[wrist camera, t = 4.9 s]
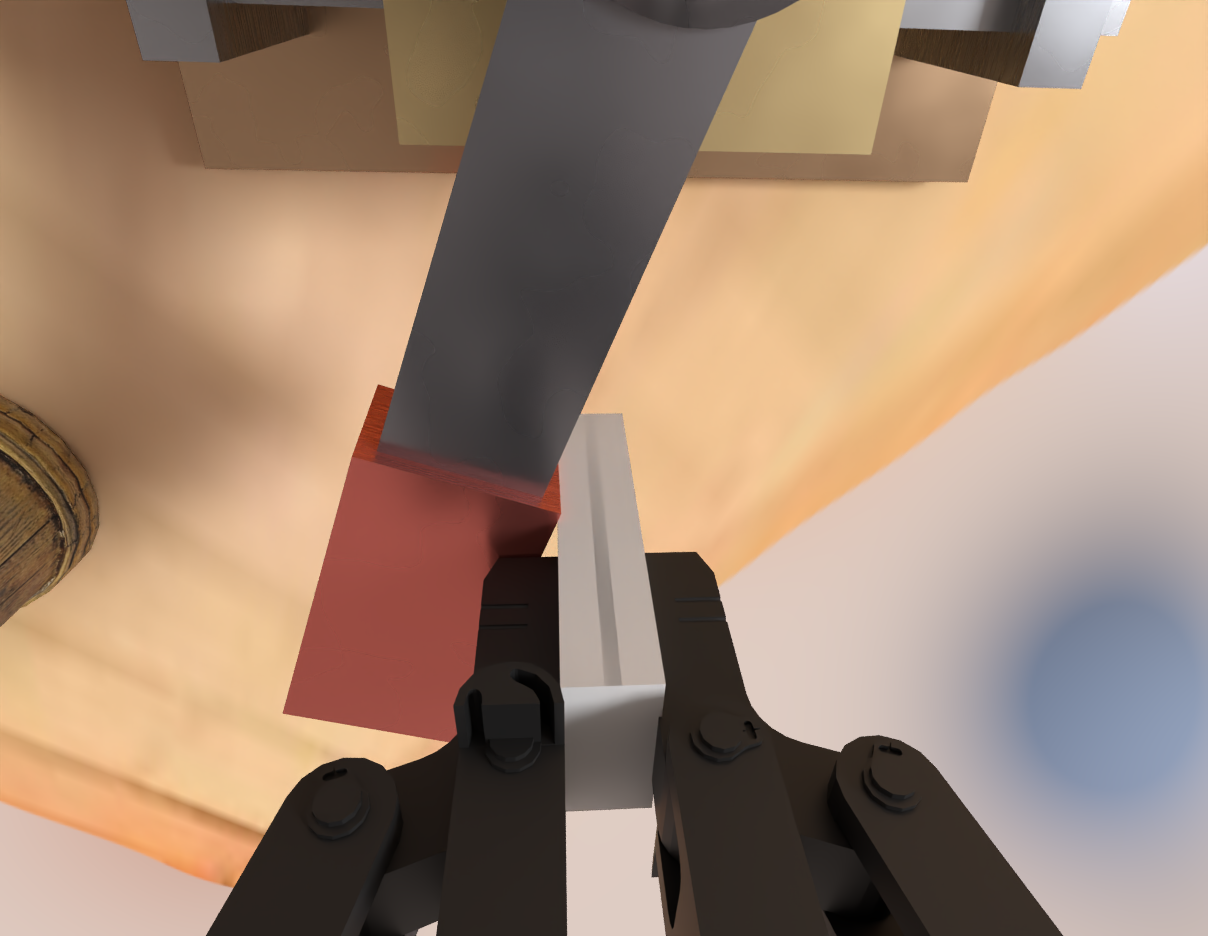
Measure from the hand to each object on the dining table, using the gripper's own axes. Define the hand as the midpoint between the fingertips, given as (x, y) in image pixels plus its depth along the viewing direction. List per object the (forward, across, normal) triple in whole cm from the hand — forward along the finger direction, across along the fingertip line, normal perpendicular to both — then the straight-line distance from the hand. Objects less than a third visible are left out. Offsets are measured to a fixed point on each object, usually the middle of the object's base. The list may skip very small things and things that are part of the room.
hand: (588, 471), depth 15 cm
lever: (-1, -1, +4) cm, 5 cm away
